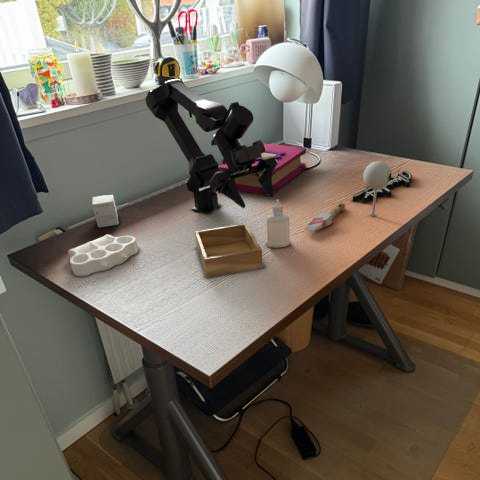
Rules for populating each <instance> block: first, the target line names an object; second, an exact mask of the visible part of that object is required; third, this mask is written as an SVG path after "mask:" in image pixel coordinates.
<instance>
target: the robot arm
mask: <svg viewBox="0 0 480 480" xmlns="http://www.w3.org/2000/svg"><path fill="white" fill-rule="evenodd" d="M145 105H146V107H147V108H148V110H149V111H150V112H151V114H152V115H153V116H154V117H155V118H157V119H158V120H160V121H161V122H163V123H164V124H165V125H166V128H167V129H168V130H169V132H170V134H171V135H172V137H173V139H174V141H175V143H176V144H177V145H178V147H179V149H180V150H181V152H182V154H183V156H184V157H185V158H186V160H187V162H188V175H189V176H190V177H189V178H188V180H187V182H186V187H187V191H188V192H191V193H192V194H193V200H194V206H193V207H192V208H191V210H192V211H195V212H201V213H204V214H205V213H206V214H210V213H211V212H213V211H215V210H217V209H218V208H220V207H221V203H219V199H218V195H219V194H222V195H223V196H224V197H227V198H228V199H230V200H231V201H233V203H235V204H236V205H238V206H239V207H240V208H242V209H245V208H246V204H245V201H244V199H243V197H242V194H241V193H240V190H238V189H237V188H236V184H235V180H236V179H240V178H243V177H246V176H250V175H253V174H256V176H257V177H259V179H258V181H259V182H260V184H261V185H262V187H263V188H264V190H265V191H266V193H267V194H268V195H267V196H268V197H269V198H270V199H273V198H274V197H275V195H274V193H275V192H274V193H273V186H272V172H273V171H274V170H275V167H276V166H277V165H278V163H277V161H276V159H275V157H272V156H270V157H266V158H263V159H261V160H260V161H259V163H258V164H257V165H256V166H253V167H252V164H254V163H255V162H256V160H255V159H256V158H259V157H260V158H261V157H262V155H261V154H262V153H264V152H265V146H264V144H265V143H263V141H262V140H261V139H259V140H256V141H254V142H252V145H249V146H247V145H246V144H244V145H242V143H241V141H240V140H241V139H242V138H243V137H244V136H245V134H246V132H247V131H248V130H249V128H250V127H251V125H252V124H253V122H254V114H253V112H252V111H251V110H250V109H248V108H247V107H246V106H244V105H240V103H239V101H235V102H231V103H230V104H229V107H228V109H227V107H226V106H225V105H224V104H222V103H219V102H217V101H214V100H213V101H212V100H207V99H205V98H203V97H202V96H200V94H198V93H196V92H195V91H194V90H193V89H191V88H190V87H188V86H187V85H185V84H184V83H183V81H182V80H181V79H179V78H174V79H168V80H165V81H164V82H163V83H161V85H159V86H158V87H156V88H154V89H152V90H148V92H147V94H146V97H145ZM179 105H180V106H181V107H182V108H183V109H185V110H186V111H187V112H189V113H190V114H192V115H193V116H194V118H195V124H197V125H198V126H199V128H200V129H201V130H202V131H203V132H205V133H210V132H213V131H216V132H215V133H214V134H212V135H211V141H210V145H211V146H213V147H214V146H216V147H217V149H218V150H219V153H220V155H221V156H222V158H223V159H222V161H221V162H222V164H224V165H225V164H227V166H228V168H229V170H228V169H225V170H222V171H221V170H220V168H219V165H220V164H219V163H218V162H217V160H216V158H215V156H214V155H213V154H212V153H208V154H206V153H204V152H203V150H202V149H201V147H200V146H199V144H198V142H197V141H196V138H195V137H194V136H193V134H192V132H191V130H190V129H189V127H188V126H187V124H186V123H185V121H184V119H183V118H182V116H181V113H180V112H179Z"/></svg>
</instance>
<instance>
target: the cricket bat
mask: <svg viewBox="0 0 480 480" xmlns="http://www.w3.org/2000/svg"><path fill="white" fill-rule="evenodd" d="M345 208H346V205H345V204H344V203H343V202H340V203H339V204H338V205H336V206H335V207H333V208H332V209H330V210H329V211H327V212H323V211H319V212H318V213H317V214H316V215H315V216H314V217H313V219H312V220H310V222H309V223H308V224H307V225H306V226H305V227H304V228H303V230H305V231H310V232H316V231H318V230H320V229H322V228H325V227H327V226H328V227H329V226H330V225H332V224H333V222H332V218H334V217H335V216H336V215H337V214H339V213H340V212H342V211H343V210H345Z"/></svg>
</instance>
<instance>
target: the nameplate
mask: <svg viewBox="0 0 480 480" xmlns="http://www.w3.org/2000/svg"><path fill="white" fill-rule="evenodd" d="M412 179H413V175H412V174H411V173H410V172H409V171H407V170H403V171H401V172H398V173H397V176H391V179H390V181H389V183H388V184H387V185H386V186H385V187H383V188H381V189H377V195H376V199H377V198H378V197H379V198H384V196H385V197H388V198H391V197H392V190H393V189H394V188H398V187H399V186H404V187H406V188H409V187H410V184H411V183H412ZM362 199H363V201H362V203H364V204H367V202H369V201H371V202H373V199H374V189H371V188H369V187H368V186H367V187H366V188H365V189H362V190H361V191H359V192H357V193H355V194H353V195H352V202H355V203H356V202H358V201H360V200H362Z"/></svg>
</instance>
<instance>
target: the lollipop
mask: <svg viewBox="0 0 480 480" xmlns="http://www.w3.org/2000/svg"><path fill="white" fill-rule="evenodd" d="M362 177H363V181H364V184H365V185H366V186H367V188H368V187H369V188H371V189H374V199H373V201H372V209H371V217H375V213H376V212H375V211H376V204H377V203H376V202H377V198H376V195H377V189H381V188H383V187H385V186H386V185H387V184H388V183H389V181H390V179H391V177H392V169H391V167H390V166H389V165H388V164H387V163H386V162H384V161H380V160H379V161H378V160H377V161H373V162H371V163H369V164H368V165H367V166H366V168H365V169H364V171H363V175H362Z"/></svg>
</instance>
